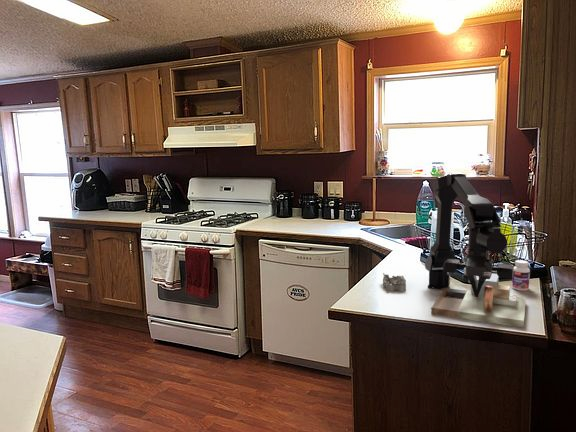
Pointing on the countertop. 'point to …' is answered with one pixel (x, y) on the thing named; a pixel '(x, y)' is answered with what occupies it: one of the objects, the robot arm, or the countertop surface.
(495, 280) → the tunnel
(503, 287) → the maple block
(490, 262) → the robot arm
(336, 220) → the countertop surface
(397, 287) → the grey stone castle ruin
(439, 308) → the deck
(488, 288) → the sled
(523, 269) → the pill bottle
